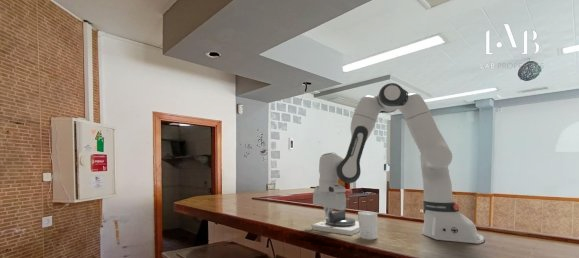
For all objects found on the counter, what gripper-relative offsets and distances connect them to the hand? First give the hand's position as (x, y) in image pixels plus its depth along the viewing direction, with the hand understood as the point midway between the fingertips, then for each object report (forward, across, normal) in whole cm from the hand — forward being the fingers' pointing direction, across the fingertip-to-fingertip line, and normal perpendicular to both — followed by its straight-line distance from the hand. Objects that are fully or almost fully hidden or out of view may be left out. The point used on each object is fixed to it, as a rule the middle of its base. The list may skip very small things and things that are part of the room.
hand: (328, 217), depth 131 cm
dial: (+3, 0, +7) cm, 8 cm away
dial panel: (+6, 0, +8) cm, 9 cm away
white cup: (+6, +19, +6) cm, 21 cm away
